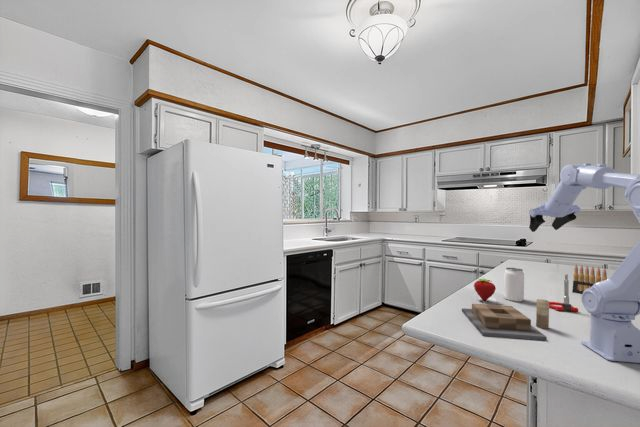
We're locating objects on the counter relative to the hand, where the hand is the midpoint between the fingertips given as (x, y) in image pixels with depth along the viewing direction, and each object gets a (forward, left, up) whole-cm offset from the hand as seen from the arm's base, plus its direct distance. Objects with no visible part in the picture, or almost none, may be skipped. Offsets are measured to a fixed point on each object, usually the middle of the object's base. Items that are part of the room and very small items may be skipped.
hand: (543, 228), depth 100 cm
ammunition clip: (+28, -32, -29) cm, 51 cm away
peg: (-13, +6, -29) cm, 32 cm away
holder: (-13, +18, -29) cm, 37 cm away
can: (+15, +2, -29) cm, 33 cm away
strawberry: (+11, +14, -29) cm, 34 cm away
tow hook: (+8, -10, -29) cm, 32 cm away
